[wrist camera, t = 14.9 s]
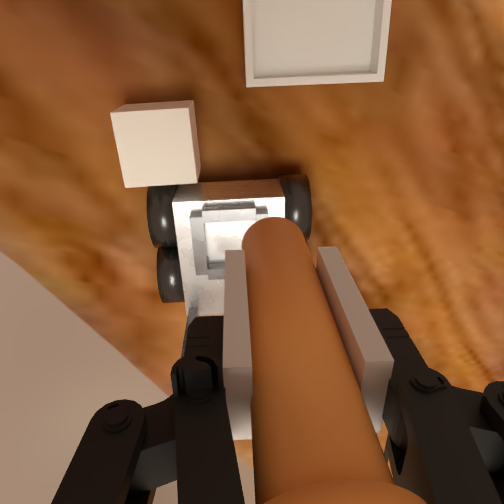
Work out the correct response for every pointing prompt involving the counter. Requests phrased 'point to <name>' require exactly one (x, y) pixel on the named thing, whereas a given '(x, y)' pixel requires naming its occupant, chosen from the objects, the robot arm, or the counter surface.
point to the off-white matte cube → (157, 143)
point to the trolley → (214, 232)
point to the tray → (315, 41)
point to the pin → (305, 385)
